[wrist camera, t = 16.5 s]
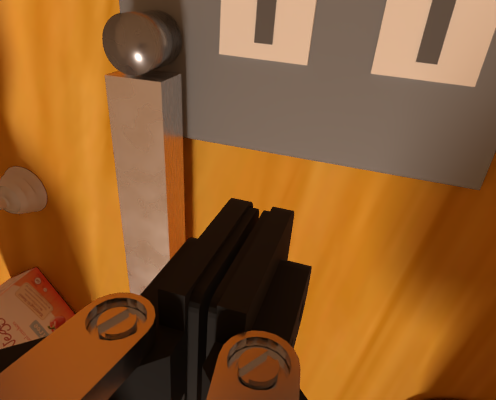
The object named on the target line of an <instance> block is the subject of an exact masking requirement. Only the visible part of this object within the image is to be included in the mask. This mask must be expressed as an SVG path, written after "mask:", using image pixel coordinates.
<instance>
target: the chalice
mask: <svg viewBox="0 0 496 400" xmlns="http://www.w3.org/2000/svg"><path fill="white" fill-rule="evenodd" d="M46 203H47V194H46V190H45V188H44V186H43V184H42V183H41V181H40V180H39V179H38V178H37V177H36V175H35V174H33V173H32V172H30V171H29V170H27V169H25V168H23V167H17V166H14V167H11V168H9V169H8V170H7V171H6V172H5V174H4V175H3V176H2V177H1V179H0V210H1V209H4V210H5V211H7V212H9V213H14V214H23V213H29V212H37V211H41V210H42V209H43V208H44V207H45V206H46Z"/></svg>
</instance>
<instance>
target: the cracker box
mask: <svg viewBox="0 0 496 400" xmlns="http://www.w3.org/2000/svg"><path fill="white" fill-rule="evenodd" d="M74 315H75V314H74V312H73V311H72V310H71V309H70V307H69V306H68V305H67V304H66V302H65V301H64V300H63V299H62V298H61V296H60V295H59V294H58V293H57V291H56V290H55V289H54V288H53V286H52V285H51V284H50V283H49V281H48V280H47V279H46V278H45V277H44V275H43V274H42V273H41V272H40V270H39V269H38V268H37V267H35V268H33V269H30V270H28V271H26V272H24V273H22V274H19V275H17V276H15V277H13V278H10V279H9V280H7V281H6V282H4V283H3V284H2V285H0V349H3V348H6V347H10V346H13V345H17V344H21V343H24V342H28V341H32V340H35V339H39V338H43V337H46V336H48V335H50V334H51V333H52V332H53V331H55V330H56V329H57V328H59V327H60V326H61V325H62V324H64V323H65V322H66V321H68V320H69V319H70V318H71V317H73V316H74Z"/></svg>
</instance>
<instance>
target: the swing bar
mask: <svg viewBox="0 0 496 400" xmlns="http://www.w3.org/2000/svg"><path fill="white" fill-rule="evenodd" d="M102 39H103V47H104V51H105V53H106V55H107V57H108V59H109V61H110V62H111V63H112V65H113V66H114V67H115V68H116V69H118V70H119V71H116V72H112V73H109V74H106V75H105V82H106V90H107V99H108V107H109V116H110V124H111V133H112V141H113V150H114V158H115V167H116V175H117V184H118V193H119V201H120V210H121V218H122V227H123V235H124V244H125V252H126V261H127V269H128V278H129V286H130V293H134V294H137V295H140V294H141V293H142V292H143V291H144V290H145V288H146V287H147V286H148V285H149V284H150V283H151V281H152V280H153V279H154V278H155V277H156V276H157V274H158V273H159V272H160V271H161V270H162V269H163V267H164V266H165V265H166V264H167V263H168V261H169V260H170V259H171V258H172V257H173V256H174V254H175V253H176V252H177V251H178V250H179V249H180V247H181V246H182V245H183V244H184V243H185V206H184V166H183V127H182V87H181V73H173V72H165V71H157V70H155V69H158V68H160V67H163V66H166V65H169V64H171V63H172V62H174V61H175V60H176V59H177V57H178V56H179V54H180V51H181V47H182V36H181V32H180V29H179V27H178V25H177V23H176V22H175V20H174V19H173V18H172V17H171V16H170V15H168V14H167V13H165V12H163V11H160V10H146V11H136V12H125V13H118V14H116V15H114V16H112V17H111V18H110V19H109V20H108V21H107V23H106V25H105V27H104V30H103V38H102Z"/></svg>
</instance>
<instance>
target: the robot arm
mask: <svg viewBox="0 0 496 400" xmlns="http://www.w3.org/2000/svg"><path fill="white" fill-rule="evenodd" d="M293 219H294V211H291V210H286V209H282V208H277V207H272V209H271V211H265V210H264V211H263V213H262V214H261V216H260V218H259V209H256V208H253V203H252V202H249V201H244V200H239V199H235V198H231V199H230V200H229V201H228V202H227V204H226V205H225V206H224V207H223V209H222V210H221V211H220V212H219V214H218V215H217V216H216V217H215V218H214V220H213V221H212V222H211V223H210V225H209V226H208V227H207V228H206V230H205V231H204V232H203V233H202V235H201V236H200V237H199V238H198V239H196V238H189V239H188V240H187V241H186V242H185V243H184V244H183V245H182V246H181V247H180V249H179V250H178V251H177V252H176V253H175V254H174V256H173V257H172V258H171V259H170V260H169V261H168V263H167V264H166V265H165V266H164V267H163V269H162V270H161V271H160V272H159V273H158V274H157V276H156V277H155V278H154V279H153V280H152V281H151V283H150V284H149V285H148V286H147V287H146V288H145V290H144V291H143V292H142V293H141V294H140V295H137V294H134V293H114V294H109V295H106V296H103V297H100V298H98V299H96V300H94V301H93V302H91V303H90V304H88V305H87V306H85V307H84V308H83V309H82V310H80V311H79V312H78V313H77V314H75V315H74V316H73V317H71V318H70V319H69V320H68V321H66V322H65V323H64V324H62V325H61V326H60V327H59V328H57V329H56V330H55V331H53V332H52V333H51V334H50V335H48V336H46V337H43V338H39V339H35V340H32V341H28V342H24V343H21V344H17V345H13V346H10V347H6V348H3V349H0V400H307V398H306V397H305V395H304V394H303V392H302V391H301V390H300V363H299V358H298V356H297V354H296V352H295V350H294V345H295V341H296V337H297V334H298V330H299V326H300V322H301V318H302V314H303V310H304V305H305V301H306V296H307V291H308V285H309V280H310V274H311V266H308V265H303V264H299V263H295V262H291V261H287V259H288V253H289V246H290V239H291V233H292V226H293Z"/></svg>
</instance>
